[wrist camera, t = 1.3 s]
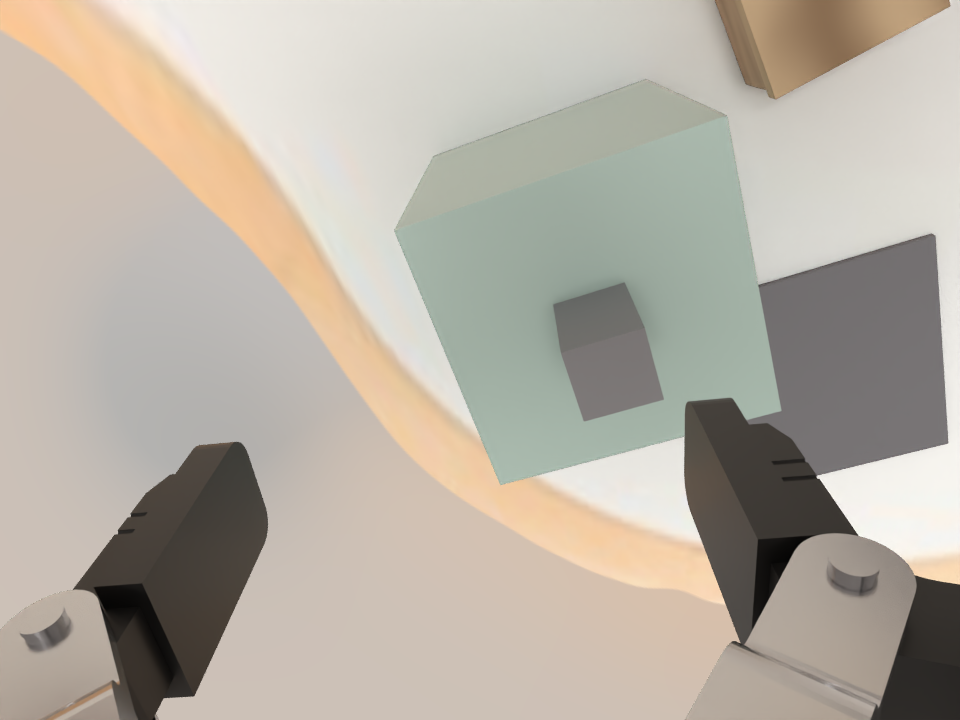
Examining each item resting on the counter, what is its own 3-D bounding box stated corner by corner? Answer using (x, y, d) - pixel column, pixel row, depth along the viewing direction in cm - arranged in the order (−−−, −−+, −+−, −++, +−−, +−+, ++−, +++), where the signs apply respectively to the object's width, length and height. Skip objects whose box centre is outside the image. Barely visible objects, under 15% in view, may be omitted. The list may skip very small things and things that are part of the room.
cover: (645, 79, 39) (769, 135, 20) (692, 283, 44) (824, 472, 26) (433, 156, 41) (374, 267, 23) (502, 341, 46) (499, 551, 28)
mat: (931, 233, 42) (935, 235, 42) (944, 440, 49) (948, 443, 48) (674, 310, 45) (676, 312, 45) (720, 495, 52) (721, 498, 51)
